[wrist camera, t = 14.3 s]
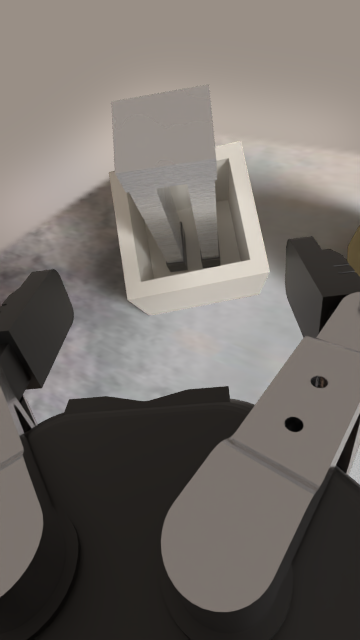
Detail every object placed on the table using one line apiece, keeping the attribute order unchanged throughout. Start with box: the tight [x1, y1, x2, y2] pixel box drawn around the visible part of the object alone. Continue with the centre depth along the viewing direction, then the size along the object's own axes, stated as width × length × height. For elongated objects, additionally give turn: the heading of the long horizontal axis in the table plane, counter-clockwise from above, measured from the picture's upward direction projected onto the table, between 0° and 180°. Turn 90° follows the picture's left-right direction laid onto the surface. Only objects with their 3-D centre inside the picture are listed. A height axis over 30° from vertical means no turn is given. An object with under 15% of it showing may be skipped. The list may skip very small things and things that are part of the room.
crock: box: [109, 141, 270, 316], centre depth 25 cm, size 9×9×6 cm
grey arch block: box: [111, 85, 221, 272], centre depth 20 cm, size 4×3×14 cm
